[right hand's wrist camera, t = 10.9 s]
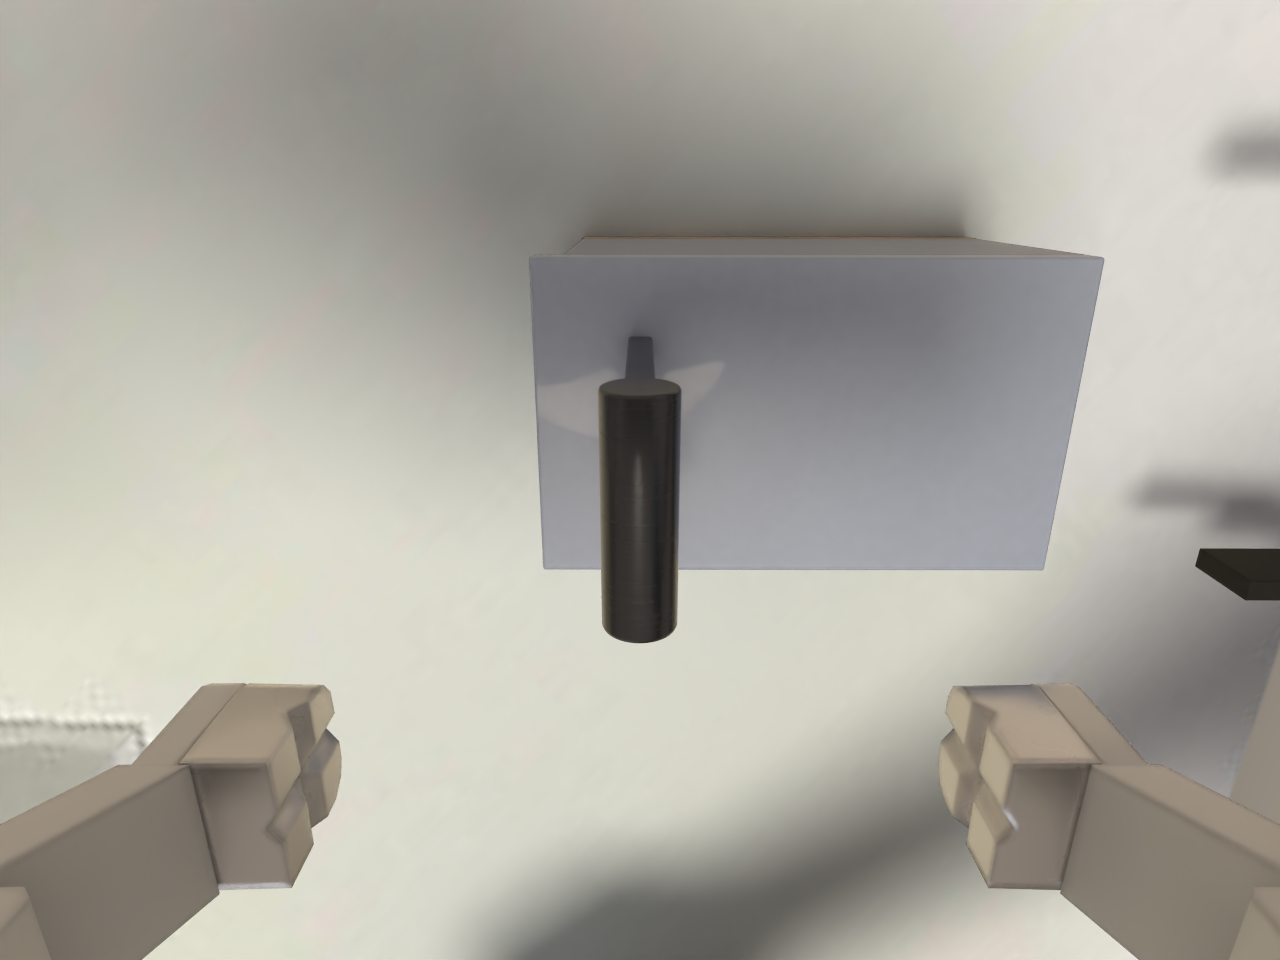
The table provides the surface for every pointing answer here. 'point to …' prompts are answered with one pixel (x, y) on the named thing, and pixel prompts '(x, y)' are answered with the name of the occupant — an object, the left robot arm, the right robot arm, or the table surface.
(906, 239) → the chest
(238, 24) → the table surface
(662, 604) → the lid
